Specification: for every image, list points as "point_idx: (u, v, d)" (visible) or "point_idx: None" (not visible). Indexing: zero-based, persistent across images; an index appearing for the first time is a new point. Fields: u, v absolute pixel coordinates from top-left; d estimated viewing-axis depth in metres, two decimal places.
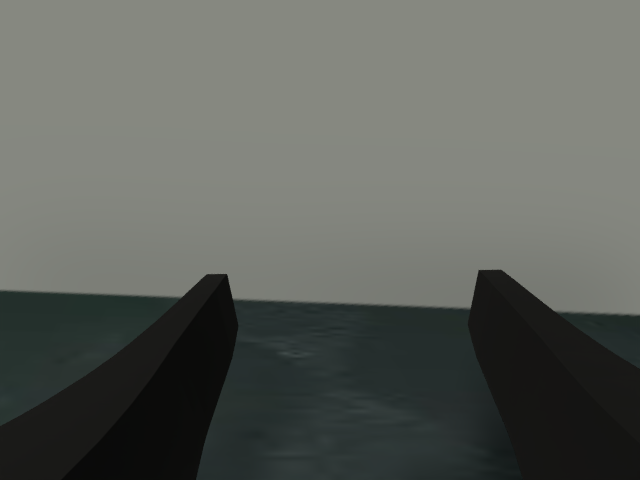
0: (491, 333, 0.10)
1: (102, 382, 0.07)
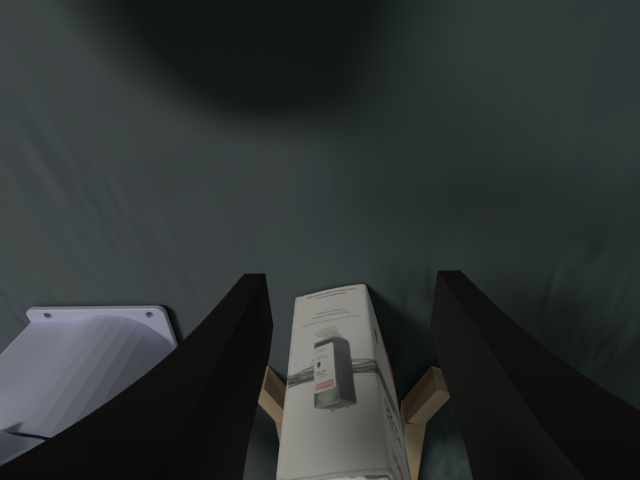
0: (447, 333, 0.10)
1: (162, 383, 0.07)
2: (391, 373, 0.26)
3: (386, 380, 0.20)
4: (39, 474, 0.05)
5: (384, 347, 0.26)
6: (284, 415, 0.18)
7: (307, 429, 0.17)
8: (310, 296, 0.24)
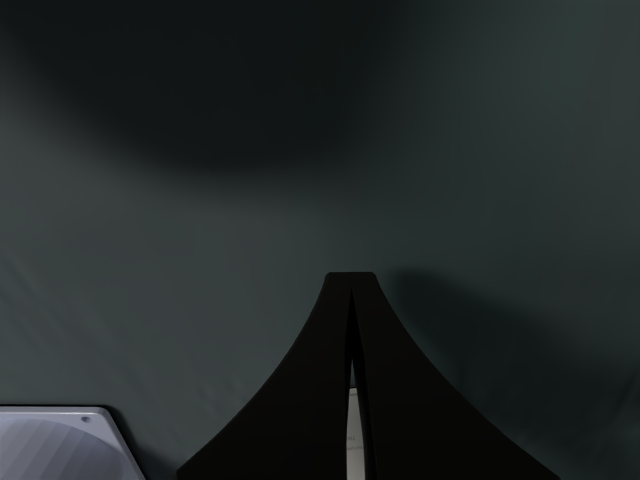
0: (353, 334, 0.10)
1: (296, 383, 0.07)
2: None
3: None
4: (226, 477, 0.05)
5: None
6: None
7: None
8: None
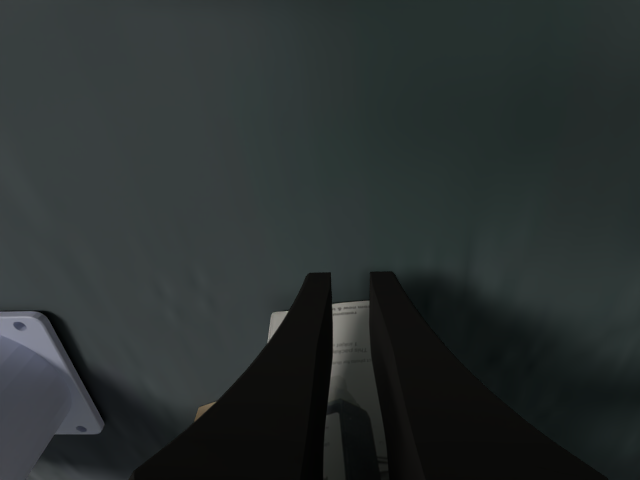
0: (374, 334, 0.10)
1: (266, 383, 0.07)
2: None
3: None
4: (182, 476, 0.05)
5: None
6: None
7: None
8: None
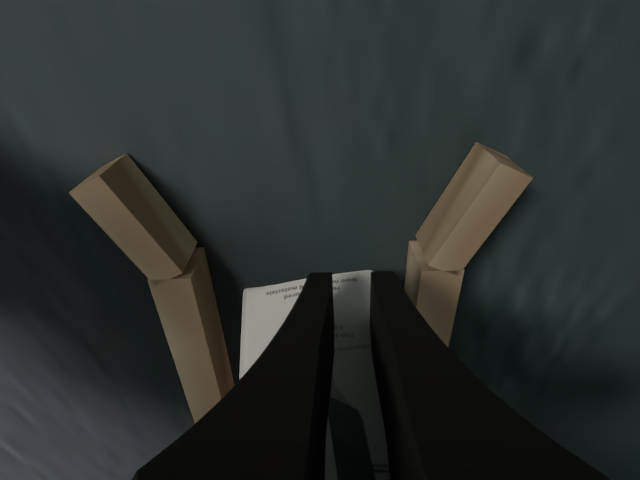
0: (375, 334, 0.10)
1: (267, 383, 0.07)
2: None
3: None
4: (185, 476, 0.05)
5: None
6: None
7: None
8: (272, 291, 0.13)
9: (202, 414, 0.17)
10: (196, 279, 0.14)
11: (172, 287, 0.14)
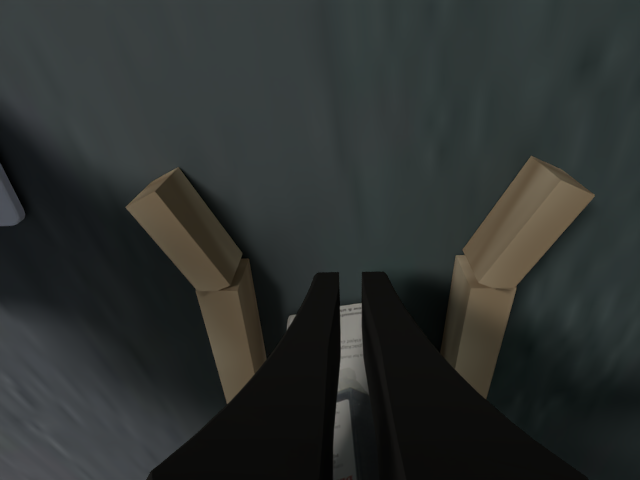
0: (366, 334, 0.10)
1: (278, 383, 0.07)
2: None
3: None
4: (200, 477, 0.05)
5: None
6: None
7: None
8: None
9: None
10: (242, 291, 0.14)
11: (219, 299, 0.14)
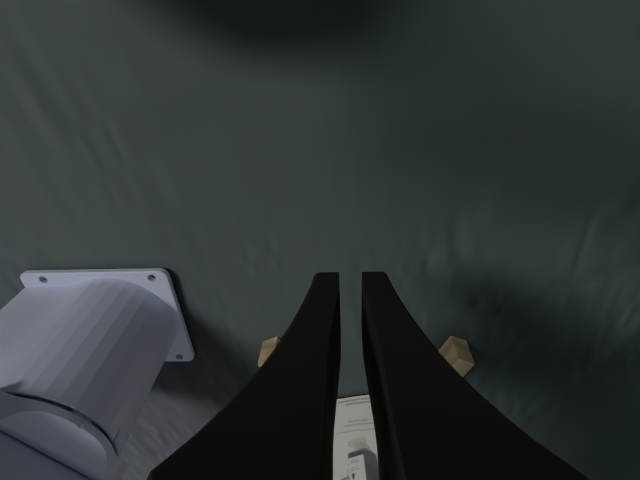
0: (366, 334, 0.10)
1: (278, 383, 0.07)
2: None
3: None
4: (200, 477, 0.05)
5: None
6: None
7: None
8: (340, 401, 0.30)
9: None
10: None
11: None
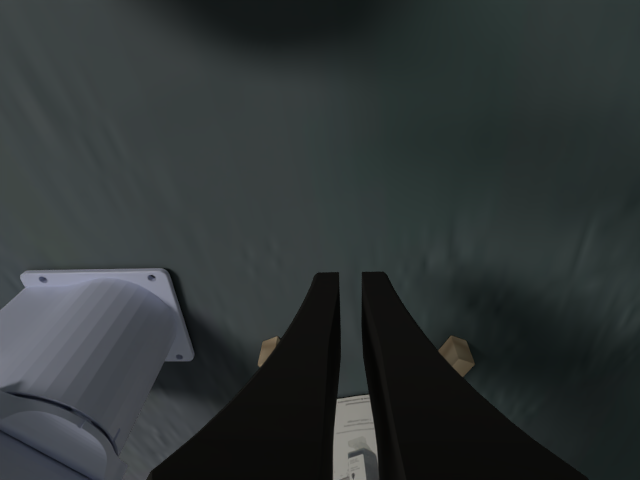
0: (366, 334, 0.10)
1: (278, 383, 0.07)
2: None
3: None
4: (200, 477, 0.05)
5: None
6: None
7: None
8: (340, 401, 0.30)
9: None
10: None
11: None
